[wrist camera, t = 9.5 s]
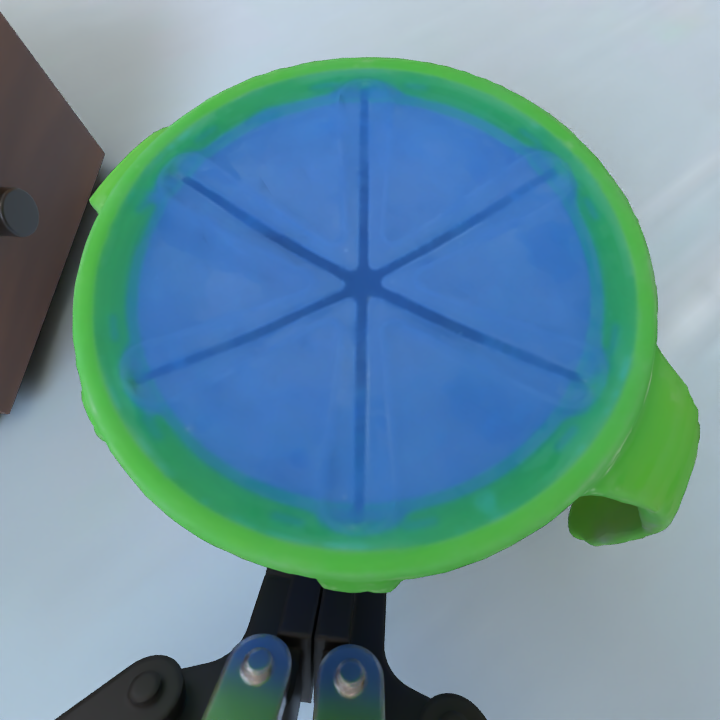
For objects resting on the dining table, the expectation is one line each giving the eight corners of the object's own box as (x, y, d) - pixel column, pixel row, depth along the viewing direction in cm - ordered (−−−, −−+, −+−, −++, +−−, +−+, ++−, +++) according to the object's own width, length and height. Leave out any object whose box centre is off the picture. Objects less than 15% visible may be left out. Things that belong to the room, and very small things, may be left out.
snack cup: (614, 412, 17) (917, 275, 8) (464, 669, 15) (640, 957, 5) (299, 212, 21) (236, -53, 11) (132, 391, 18) (-142, 243, 8)
